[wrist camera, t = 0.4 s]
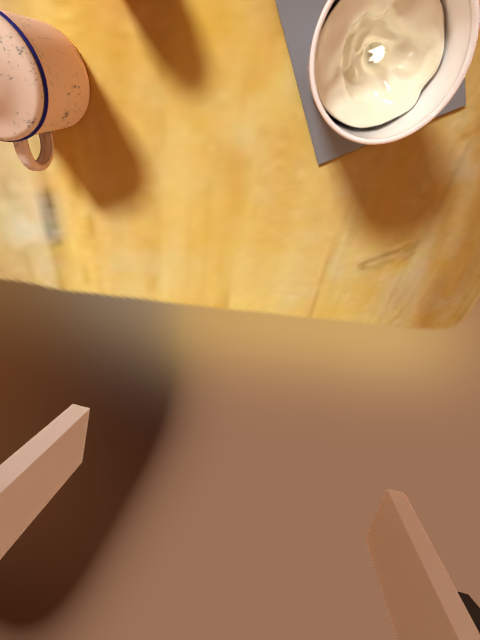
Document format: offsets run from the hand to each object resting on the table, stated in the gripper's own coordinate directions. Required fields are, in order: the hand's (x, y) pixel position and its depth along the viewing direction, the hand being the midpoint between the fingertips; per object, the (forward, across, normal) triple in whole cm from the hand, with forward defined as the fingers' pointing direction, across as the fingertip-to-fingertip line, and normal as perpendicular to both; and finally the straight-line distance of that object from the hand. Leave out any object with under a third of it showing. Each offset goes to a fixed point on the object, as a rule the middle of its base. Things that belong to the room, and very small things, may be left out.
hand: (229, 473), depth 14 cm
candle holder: (+23, +2, +27) cm, 36 cm away
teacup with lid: (+24, -26, +18) cm, 40 cm away
